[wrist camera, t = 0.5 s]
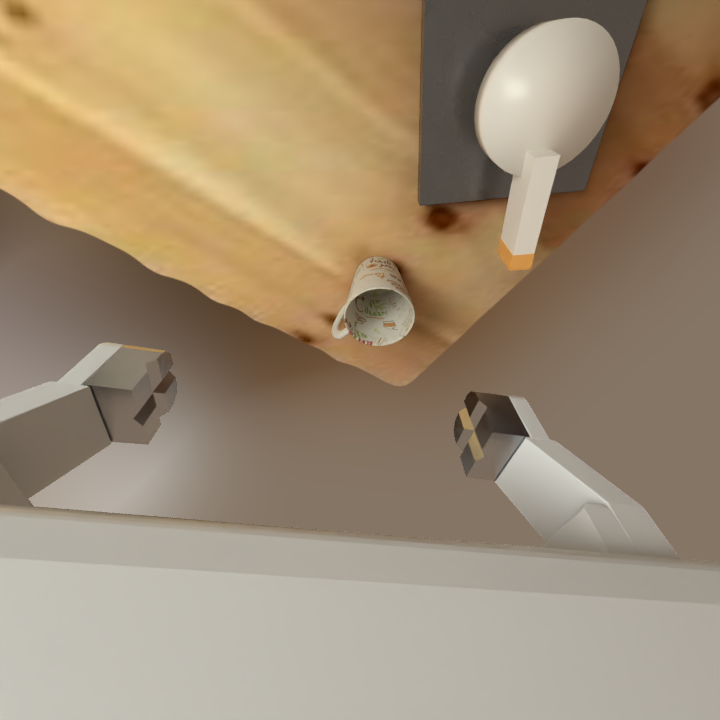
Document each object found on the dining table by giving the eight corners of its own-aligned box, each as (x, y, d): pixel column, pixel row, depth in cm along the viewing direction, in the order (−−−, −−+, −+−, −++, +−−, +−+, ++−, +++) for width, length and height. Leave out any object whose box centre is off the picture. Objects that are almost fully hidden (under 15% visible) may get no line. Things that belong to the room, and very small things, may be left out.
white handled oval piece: (483, 29, 26) (503, 26, 22) (620, 11, 25) (664, 5, 22) (459, 251, 38) (469, 273, 34) (551, 243, 38) (571, 265, 34)
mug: (419, 276, 47) (429, 318, 40) (356, 327, 53) (355, 372, 46) (378, 234, 43) (380, 273, 36) (315, 295, 49) (306, 339, 42)
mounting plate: (422, -30, 28) (432, -44, 24) (653, -63, 27) (707, -83, 23) (417, 199, 40) (424, 218, 36) (576, 184, 39) (602, 201, 35)
